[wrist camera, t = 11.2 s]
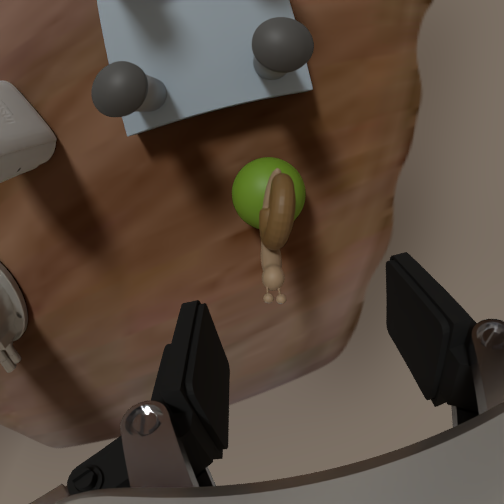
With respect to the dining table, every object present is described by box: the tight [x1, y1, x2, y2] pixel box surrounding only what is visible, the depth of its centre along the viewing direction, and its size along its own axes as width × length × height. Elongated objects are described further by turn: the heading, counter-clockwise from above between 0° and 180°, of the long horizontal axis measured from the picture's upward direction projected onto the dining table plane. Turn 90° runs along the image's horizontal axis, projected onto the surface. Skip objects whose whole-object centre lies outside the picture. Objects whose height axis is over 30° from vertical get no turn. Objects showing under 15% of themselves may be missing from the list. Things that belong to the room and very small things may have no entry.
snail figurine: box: [232, 157, 305, 304], centre depth 21 cm, size 5×6×12 cm
